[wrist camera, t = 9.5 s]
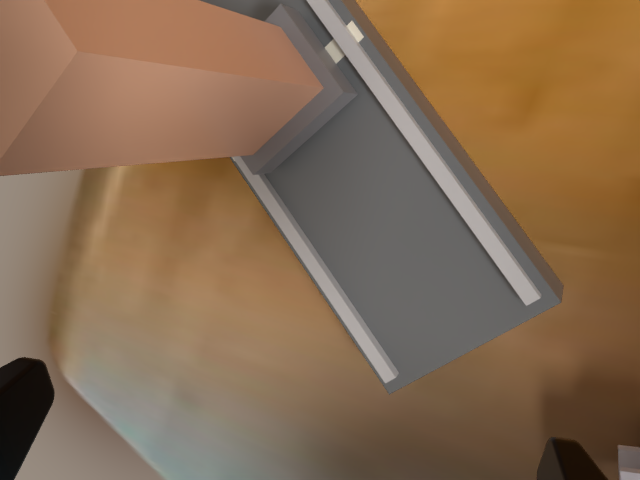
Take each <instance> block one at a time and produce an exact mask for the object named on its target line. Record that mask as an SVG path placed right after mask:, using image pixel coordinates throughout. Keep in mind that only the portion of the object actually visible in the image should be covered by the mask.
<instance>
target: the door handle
mask: <svg viewBox="0 0 640 480" xmlns="http://www.w3.org/2000/svg"><path fill="white" fill-rule="evenodd" d="M618 465H619V480H640V447H633V446H625V445H618Z"/></svg>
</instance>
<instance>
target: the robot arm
mask: <svg viewBox="0 0 640 480" xmlns="http://www.w3.org/2000/svg"><path fill="white" fill-rule="evenodd" d="M53 400H54V388H53V385H52V382H51V379H50V376H49V373H48V370H47V367H46V364H45V363H44V362H43V361H42V360H39V359H32V358H26V357H24V358H23V357H22V358H18V359H16V360H14V361H12V362H10V363H8V364H7V365H4V366H3V367H1V368H0V480H14V479H15V477H16V475H17V473H18V471H19V469H20V468H21V466H22V463H23V461H24V459H25V458H26V455H27V454H28V452H29V450H30V447H31V445H32V443H33V442H34V440H35V438H36V436H37V433H38V431H39V430H40V427H41V426H42V423H43V422H44V419H45V417H46V415H47V414H48V412H49V410H50V408H51V406H52V403H53ZM537 480H608V479H607V478H606V477H605V475H604V474H603V473H602V472H601V470H600V469H599V468H598V466H597V465H596V464H595V463H594V461H593V460H592V459H591V458H590V456H589V455H588V454H587V452H586V451H585V450H584V449H583V447H582V446H581V445H580V444H579V443H578V442H577V441H575V440H571V439H564V438H558V437H551V438H550V439H549V440H548V441H547V444H546V447H545V449H544V452H543V455H542V458H541V461H540V464H539V467H538V471H537Z"/></svg>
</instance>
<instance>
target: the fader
mask: <svg viewBox="0 0 640 480" xmlns="http://www.w3.org/2000/svg"><path fill="white" fill-rule="evenodd" d="M357 95H358V94H357V92H356V91H355V89H354V88H353V87H352V85H351V84H350V83H349V81H348V80H347V78H346V77H345V76H344V74H343V73H342V71H341V70H340V69H339V67H338V66H337V64H336V63H335V62H334V60H333V59H332V57H331V56H330V55H329V53H328V52H327V50H326V49H325V48H324V46H323V45H322V43H321V42H320V41H319V39H318V38H317V36H316V35H315V34H314V32H313V31H312V29H311V28H310V27H309V25H308V24H307V22H306V21H305V20H304V18H303V17H302V15H301V14H300V13H299V11H298V10H295V9H293V8H290V7H288V6H285V5H283V4H280V5H279V6H278V7H277V8H276V9H275V10H274V11H273V13H272V14H271V15H270V16H269V17H268V18H267V19H266V20H265V21H261V20H258V19H255V18H252V17H248V16H245V15H242V14H239V13H236V12H233V11H230V10H227V9H224V8H221V7H218V6H215V5H212V4H209V3H206V2H203V1H200V0H0V176H5V175H17V174H30V173H42V172H53V171H66V170H78V169H90V168H102V167H114V166H126V165H138V164H150V163H162V162H175V161H187V160H199V159H211V158H223V157H235V156H240V157H241V158H242V160H243V161H244V163H245V164H246V166H247V167H248V169H249V170H250V171H251V173H252V174H253V175H259V174H266V173H271V172H272V171H273V170H274V169H276V168H277V167H278V166H279V165H280V164H281V163H282V162H283V161H284V160H286V159H287V158H288V157H289V156H290V155H291V154H292V153H293V152H294V151H296V150H297V149H298V148H299V147H300V146H301V145H302V144H303V143H304V142H306V141H307V140H308V139H309V138H310V137H311V136H312V135H313V134H314V133H316V132H317V131H318V130H319V129H320V128H321V127H322V126H323V125H324V124H326V123H327V122H328V121H329V120H330V119H331V118H332V117H333V116H334V115H336V114H337V113H338V112H339V111H340V110H341V109H342V108H343V107H345V106H346V105H347V104H348V103H349V102H350V101H351V100H352V99H353V98H355V97H356V96H357Z"/></svg>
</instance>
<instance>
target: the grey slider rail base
mask: <svg viewBox="0 0 640 480" xmlns="http://www.w3.org/2000/svg"><path fill="white" fill-rule="evenodd" d="M200 1H203V2H206V3H209V4H212V5H215V6H218V7H221V8H224V9H227V10H230V11H233V12H236V13H239V14H242V15H245V16H248V17H252V18H255V19H258V20H261V21H265V20H266V19H267V18H268V17H269V16H270V15H271V14H272V13H273V11H274V10H275V9H276V8H277V7H278V6H279V5H280V4H283V5H285V6H288V7H290V8H293V9H295V10H298V11H299V13H300V14H301V15H302V17H303V18H304V20H305V21H306V22H307V24H308V25H309V27H310V28H311V29H312V31H313V32H314V34H315V35H316V36H317V38H318V39H319V41H320V42H321V43H322V45H323V46H324V48H325V49H326V50H327V52H328V53H329V55H330V56H331V57H332V59H333V60H334V62H335V63H336V64H337V66H338V67H339V69H340V70H341V71H342V73H343V74H344V76H345V77H346V78H347V80H348V81H349V83H350V84H351V85H352V87H353V88H354V89H355V91H356V92H357V94H358V95H357V96H356V97H355V98H353V99H352V100H351V101H350V102H349V103H348V104H347V105H346V106H345V107H343V108H342V109H341V110H340V111H339V112H338V113H337V114H336V115H334V116H333V117H332V118H331V119H330V120H329V121H328V122H327V123H326V124H324V125H323V126H322V127H321V128H320V129H319V130H318V131H317V132H316V133H314V134H313V135H312V136H311V137H310V138H309V139H308V140H307V141H306V142H304V143H303V144H302V145H301V146H300V147H299V148H298V149H297V150H296V151H294V152H293V153H292V154H291V155H290V156H289V157H288V158H287V159H286V160H284V161H283V162H282V163H281V164H280V165H279V166H278V167H277V168H276V169H274V170H273V171H272V172H271V173H266V174H259V175H253V174H252V173H251V171H250V170H249V169H248V167H247V166H246V164H245V163H244V161H243V160H242V158H241V157H240V156H235V157H230V159H231V160H232V162H233V163H234V165H235V166H236V167H237V169H238V170H239V172H240V173H241V175H242V176H243V178H244V179H245V181H246V182H247V184H248V185H249V187H250V188H251V190H252V191H253V193H254V194H255V196H256V197H257V199H258V200H259V202H260V203H261V205H262V206H263V208H264V209H265V211H266V212H267V214H268V215H269V216H270V218H271V219H272V221H273V222H274V224H275V225H276V227H277V228H278V230H279V231H280V233H281V234H282V236H283V237H284V239H285V240H286V242H287V243H288V245H289V246H290V248H291V249H292V251H293V252H294V254H295V255H296V257H297V258H298V260H299V261H300V263H301V264H302V265H303V267H304V268H305V270H306V271H307V273H308V274H309V276H310V277H311V279H312V280H313V282H314V283H315V285H316V286H317V288H318V289H319V291H320V292H321V294H322V295H323V297H324V298H325V300H326V301H327V303H328V304H329V306H330V307H331V309H332V310H333V312H334V313H335V314H336V316H337V317H338V319H339V320H340V322H341V323H342V325H343V326H344V328H345V329H346V331H347V332H348V334H349V335H350V337H351V338H352V340H353V341H354V343H355V344H356V346H357V347H358V349H359V350H360V352H361V353H362V355H363V356H364V358H365V359H366V361H367V362H368V363H369V365H370V366H371V368H372V369H373V371H374V372H375V374H376V375H377V377H378V378H379V380H380V381H381V383H382V384H383V386H384V387H385V389H386V390H387V392H388V393H389V394H391V393H393V392H395V391H397V390H398V389H400V388H402V387H404V386H406V385H408V384H410V383H412V382H413V381H415V380H417V379H419V378H421V377H423V376H425V375H426V374H428V373H430V372H432V371H434V370H436V369H438V368H440V367H441V366H443V365H445V364H447V363H449V362H451V361H453V360H455V359H456V358H458V357H460V356H462V355H464V354H466V353H468V352H469V351H471V350H473V349H475V348H477V347H479V346H481V345H483V344H484V343H486V342H488V341H490V340H492V339H494V338H496V337H498V336H499V335H501V334H503V333H505V332H507V331H509V330H511V329H512V328H514V327H516V326H518V325H520V324H522V323H524V322H526V321H527V320H529V319H531V318H533V317H535V316H537V315H539V314H541V313H542V312H544V311H546V310H548V309H550V308H552V307H554V306H555V305H557V304H559V303H561V300H562V294H563V287H564V286H563V284H562V283H561V282H560V280H559V279H558V277H557V276H556V275H555V273H554V272H553V271H552V269H551V268H550V267H549V265H548V264H547V262H546V261H545V260H544V258H543V257H542V256H541V254H540V253H539V252H538V250H537V249H536V247H535V246H534V245H533V243H532V242H531V241H530V239H529V238H528V236H527V235H526V234H525V232H524V231H523V230H522V228H521V227H520V226H519V224H518V223H517V221H516V220H515V219H514V217H513V216H512V215H511V213H510V212H509V210H508V209H507V208H506V206H505V205H504V204H503V202H502V201H501V200H500V198H499V197H498V195H497V194H496V193H495V191H494V190H493V189H492V187H491V186H490V184H489V183H488V182H487V180H486V179H485V178H484V176H483V175H482V174H481V172H480V171H479V169H478V168H477V167H476V165H475V164H474V163H473V161H472V160H471V159H470V157H469V156H468V154H467V153H466V152H465V150H464V149H463V148H462V146H461V145H460V143H459V142H458V141H457V139H456V138H455V137H454V135H453V134H452V133H451V131H450V130H449V128H448V127H447V126H446V124H445V123H444V122H443V120H442V119H441V117H440V116H439V115H438V113H437V112H436V111H435V109H434V108H433V107H432V105H431V104H430V102H429V101H428V100H427V98H426V97H425V96H424V94H423V93H422V91H421V90H420V89H419V87H418V86H417V85H416V83H415V82H414V81H413V79H412V78H411V76H410V75H409V74H408V72H407V71H406V70H405V68H404V67H403V66H402V64H401V63H400V61H399V60H398V59H397V57H396V56H395V55H394V53H393V52H392V50H391V49H390V48H389V46H388V45H387V44H386V42H385V41H384V40H383V38H382V37H381V35H380V34H379V33H378V31H377V30H376V29H375V27H374V26H373V24H372V23H371V22H370V20H369V19H368V18H367V16H366V15H365V14H364V12H363V11H362V9H361V8H360V7H359V5H358V4H357V3H356V1H355V0H200Z"/></svg>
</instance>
